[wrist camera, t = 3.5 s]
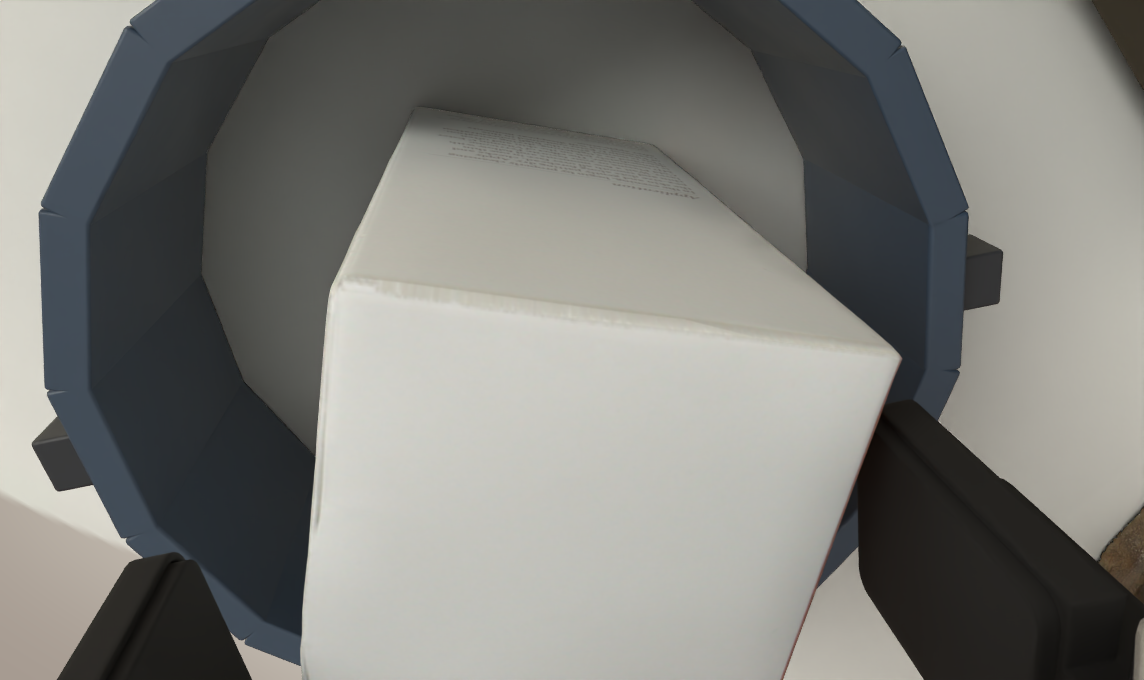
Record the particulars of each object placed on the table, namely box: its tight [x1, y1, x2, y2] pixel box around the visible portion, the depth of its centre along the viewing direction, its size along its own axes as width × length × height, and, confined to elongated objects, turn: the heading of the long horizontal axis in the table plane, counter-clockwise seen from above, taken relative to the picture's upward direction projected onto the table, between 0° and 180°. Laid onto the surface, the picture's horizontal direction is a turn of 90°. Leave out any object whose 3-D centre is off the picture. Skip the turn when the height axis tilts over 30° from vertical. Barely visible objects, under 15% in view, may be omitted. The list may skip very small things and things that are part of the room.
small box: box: [300, 107, 902, 680], centre depth 15 cm, size 8×6×13 cm
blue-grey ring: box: [32, 0, 1003, 666], centre depth 18 cm, size 18×20×6 cm
